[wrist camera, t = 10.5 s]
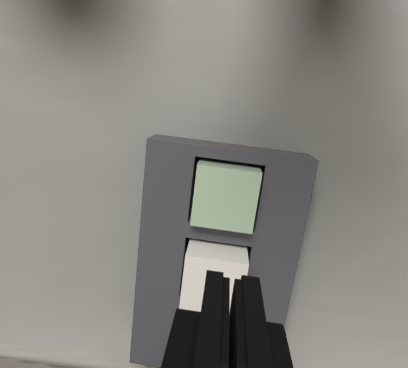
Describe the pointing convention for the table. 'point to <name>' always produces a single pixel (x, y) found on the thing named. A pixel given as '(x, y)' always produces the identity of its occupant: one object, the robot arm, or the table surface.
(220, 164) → the sage key
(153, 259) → the keypad
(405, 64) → the table surface
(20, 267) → the table surface
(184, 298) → the cream key
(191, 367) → the robot arm
